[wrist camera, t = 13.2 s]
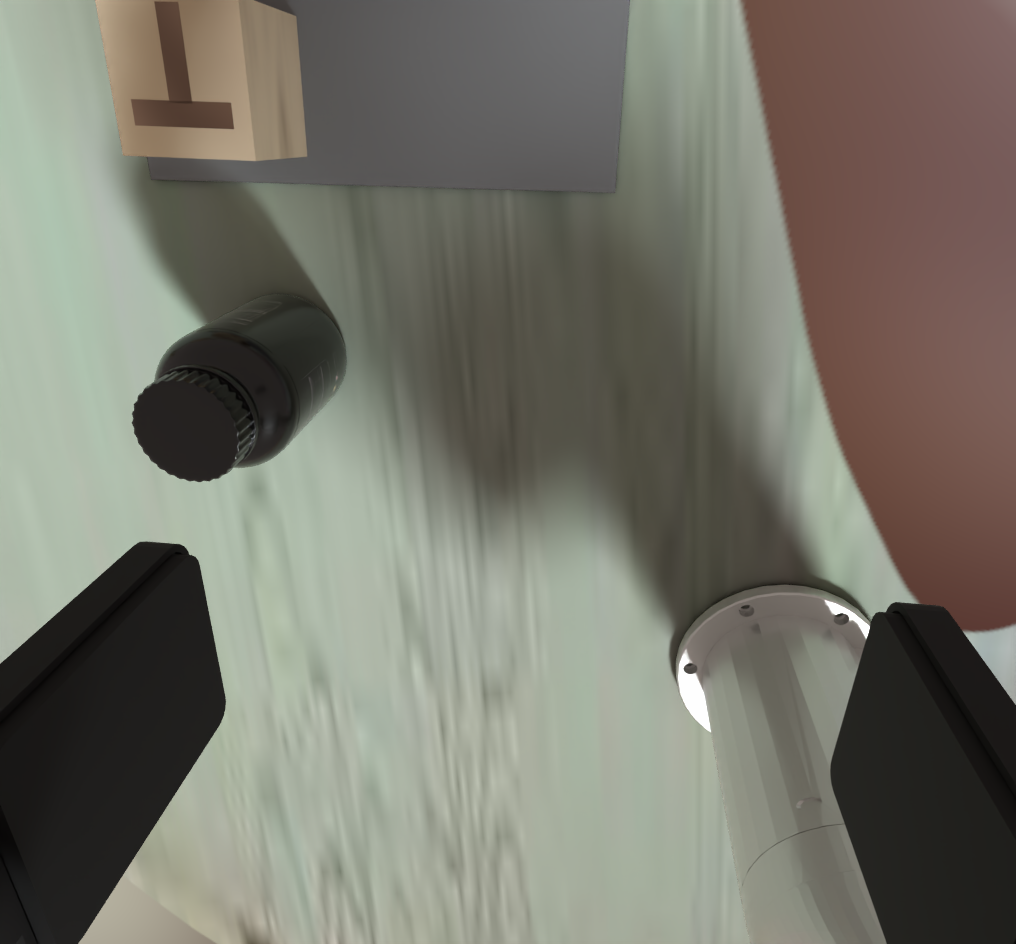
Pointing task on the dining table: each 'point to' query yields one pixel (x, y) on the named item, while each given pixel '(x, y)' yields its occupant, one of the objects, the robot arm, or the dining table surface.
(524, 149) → the mat
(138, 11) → the maple block
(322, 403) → the supplement bottle
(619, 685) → the dining table surface
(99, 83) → the dining table surface
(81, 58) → the dining table surface
